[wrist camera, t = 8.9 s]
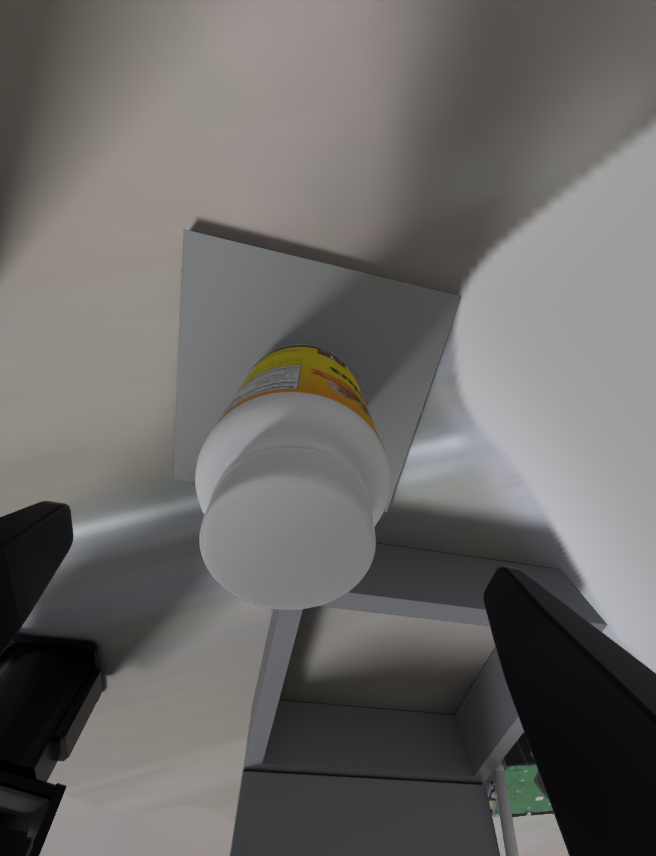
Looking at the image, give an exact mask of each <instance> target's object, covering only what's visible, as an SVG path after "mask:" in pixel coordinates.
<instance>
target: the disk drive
mask: <svg viewBox="0 0 656 856" xmlns="http://www.w3.org/2000/svg"><path fill="white" fill-rule="evenodd" d="M500 764H501V765H502V766H503V768H504V770H505V776H506V782H507V789H508V795H509V801H510V807H511V813H512V817H518V816H525V815H542V814H554V812H553V809H552V807H551V804H550V801H549V798H548V796H547V793H546V790H545V787H544V785H543V782H542V779H541V777H540V774H539V771H538V768H537V766H536V763H535V760H534V757H533V755H532V752H531V749H530V746H529V744H528V741H527V738H526V736H525V733H523V734H522V735H521V736H520V737H519V739H518V740H517V741H516V743H515V744H514V745H513V746H512V748H511V749H510V750H509V752H508V753H507V754H506V755H505V757H504V758H503V759H502V761H501V762H500ZM483 785H486V789H487V794H488V799H489V804H490V809H491V814H492V816H494V817H495V816H496V817H498V816H500V812H499V805H498V799H497V792H496V785H495V779H494V772H492V773H491V775H490V776H489V777H488V779H487V780H486V781H485V782H484V784H483Z"/></svg>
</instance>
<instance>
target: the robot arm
mask: <svg viewBox="0 0 656 856" xmlns="http://www.w3.org/2000/svg"><path fill="white" fill-rule="evenodd" d="M72 542H73V528H72V519H71V510H70V507H69V506H68V505H67V504H64V503H58V502H51V501H42V502H39V503H36V504H34V505H31V506H29V507H26V508H23V509H21V510H18V511H16V512H13V513H10V514H8V515H5V516H3V517H0V856H39V854H40V851H41V849H42V847H43V844H44V842H45V839H46V836H47V834H48V831H49V829H50V827H51V824H52V822H53V819H54V816H55V814H56V812H57V809H58V806H59V804H60V801H61V799H62V796H63V794H64V791H65V789H66V785H62V784H59V783H57V784H56V785H54V784H51V783H48V782H47V780H48V778H49V777H50V775H51V773H52V771H53V769H54V767H55V765H56V763H57V761H64V760H66V759H67V758H68V757H69V756H70V754H71V752H72V750H73V748H74V746H75V744H76V742H77V740H78V738H79V736H80V734H81V732H82V730H83V728H84V726H85V724H86V722H87V720H88V718H89V716H90V714H91V712H92V710H93V708H94V706H95V704H96V703H97V702H98V700H99V698H100V696H101V693H102V683H101V671H100V669H99V663H98V649H97V646H96V645H95V644H93V643H90V642H81V641H71V640H61V639H50V638H40V637H30V636H19V635H16V634H17V633H18V631H19V630H20V628H21V627H22V625H23V624H24V622H25V621H26V619H27V618H28V616H29V615H30V613H31V611H32V610H33V608H34V607H35V605H36V603H37V602H38V600H39V598H40V597H41V595H42V594H43V592H44V590H45V589H46V587H47V585H48V584H49V582H50V580H51V579H52V577H53V576H54V574H55V572H56V571H57V569H58V567H59V566H60V564H61V563H62V561H63V559H64V558H65V556H66V554H67V553H68V551H69V549H70V547H71V545H72ZM483 600H484V605H485V609H486V613H487V616H488V620H489V624H490V627H491V631H492V635H493V638H494V642H495V646H496V649H497V653H498V657H499V660H500V664H501V667H502V671H503V674H504V677H505V680H506V683H507V686H508V689H509V692H510V695H511V697H512V700H513V703H514V706H515V708H516V711H517V714H518V716H519V719H520V722H521V725H522V727H523V730H524V733H525V736H526V738H527V741H528V744H529V746H530V749H531V752H532V755H533V757H534V760H535V763H536V766H537V768H538V771H539V774H540V777H541V779H542V782H543V785H544V787H545V790H546V793H547V796H548V798H549V801H550V804H551V807H552V809H553V812H554V815H555V817H556V820H557V823H558V826H559V828H560V831H561V834H562V837H563V839H564V842H565V845H566V848H567V850H568V853H569V856H656V673H654V672H653V671H652V670H650V669H649V668H648V667H646V666H645V665H644V664H643V663H641V662H640V661H639V660H637V659H636V658H635V657H633V656H632V655H631V654H630V653H628V652H627V651H626V650H624V649H623V648H622V647H620V646H619V645H618V644H617V643H615V642H614V641H613V640H611V639H610V638H609V637H607V636H606V635H605V634H604V633H602V632H601V631H600V630H598V629H597V628H596V627H594V626H593V625H592V624H590V623H589V622H588V621H587V620H585V619H584V618H583V617H581V616H580V615H579V614H577V613H576V612H575V611H574V610H572V609H571V608H570V607H568V606H567V605H566V604H564V603H563V602H562V601H561V600H559V599H558V598H557V597H555V596H554V595H553V594H551V593H550V592H549V591H547V590H546V589H545V588H544V587H542V586H541V585H540V584H538V583H537V582H536V581H534V580H533V579H532V578H531V577H529V576H528V575H527V574H525V573H524V572H523V571H521V570H520V569H518V568H513V567H506V566H500V567H499V568H497V569H496V571H495V572H494V574H493V576H492V578H491V580H490V581H489V583H488V585H487V587H486V589H485V591H484V596H483Z"/></svg>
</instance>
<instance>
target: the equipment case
mask: <svg viewBox="0 0 656 856" xmlns="http://www.w3.org/2000/svg"><path fill="white" fill-rule="evenodd" d="M500 566H506V567H513V568H518V569H520V570H521V571H523V572H524V573H525V574H527V575H528V576H529V577H531V578H532V579H533V580H534V581H536V582H537V583H538V584H540V585H541V586H542V587H544V588H545V589H546V590H547V591H549V592H550V593H551V594H553V595H554V596H555V597H557V598H558V599H559V600H561V601H562V602H563V603H564V604H566V605H567V606H568V607H570V608H571V609H572V610H574V611H575V612H576V613H577V614H579V615H580V616H581V617H583V618H584V619H585V620H587V621H588V622H589V623H590V624H592V625H593V626H594V627H596V628H597V629H598V630H600V631H601V632H602V631H603V630H604V628H605V627H606V626H607V624H606V623H605V621H604V620H603V619H602V618H601V617H600V615H599V614H598V613H597V612H596V611H595V609H594V608H593V607H592V606H591V605H590V604H589V602H588V601H587V600H586V599H585V598H584V596H583V595H582V594H581V593H580V592H579V590H578V589H577V588H576V587H575V586H574V584H573V583H572V582H571V581H570V580H569V579H568V577H567V576H566V575H565V574H564V573H563V571H562V570H560V569H553V568H546V567H539V566H532V565H525V564H518V563H511V562H504V561H497V560H490V559H483V558H476V557H469V556H462V555H455V554H448V553H441V552H434V551H427V550H420V549H413V548H406V547H399V546H392V545H386V544H379V543H376V548H375V554H374V558H373V561H372V564H371V566H370V568H369V570H368V571H367V573H366V574H365V576H364V577H363V578H362V580H361V581H360V582H359V583H358V584H357V585H356V586H355V587H354V588H353V589H351V590H350V591H349V592H347V593H346V594H344V595H343V596H341V597H339V598H337V599H335V600H333V601H331V602H329V603H326V604H323V605H320V606H324V607H332V608H341V609H349V610H358V611H366V612H374V613H383V614H391V615H400V616H408V617H417V618H425V619H434V620H442V621H451V622H459V623H468V624H476V625H484V626H490V624H489V620H488V616H487V613H486V609H485V605H484V600H483V596H484V591H485V589H486V587H487V585H488V583H489V581H490V580H491V578H492V576H493V574H494V572H495V571H496V569H497V568H499V567H500ZM302 611H303V609H298V610H279V609H273V612H272V617H271V622H270V626H269V631H268V635H267V640H266V645H265V649H264V654H263V659H262V663H261V668H260V673H259V677H258V682H257V686H256V691H255V696H254V700H253V705H252V711H251V718H250V725H249V732H248V739H247V746H246V753H245V760H244V767H243V772H242V779H241V786H240V792H239V799H238V805H237V812H236V818H235V825H234V831H233V838H232V845H231V851H230V856H500V853H499V848H498V843H497V838H496V833H495V828H494V824H493V819H492V814H491V809H490V804H489V799H488V794H487V789H486V785H483V784H484V782H485V781H486V780H487V779H488V777H489V776H490V775H491V773H492V772H494V779H495V785H496V792H497V799H498V805H499V812H500V819H501V826H502V832H503V839H504V846H505V852H506V856H518V850H517V844H516V837H515V831H514V825H513V819H512V813H511V807H510V801H509V795H508V789H507V782H506V776H505V770H504V768H503V766H502V765H501V764H500V762H501V761H502V759H503V758H504V757H505V755H506V754H507V753H508V752H509V750H510V749H511V748H512V746H513V745H514V744H515V743H516V741H517V740H518V739H519V737H520V736H521V735H522V734H523V732H524V730H523V727H522V725H521V722H520V719H519V716H518V714H517V711H516V708H515V706H514V703H513V700H512V697H511V695H510V692H509V689H508V686H507V683H506V680H505V677H504V674H503V671H502V667H501V664H500V660H499V657H498V653H497V649H496V648H495V649H494V651H493V653H492V654H491V656H490V657H489V659H488V661H487V662H486V664H485V666H484V667H483V669H482V670H481V672H480V674H479V675H478V677H477V679H476V680H475V682H474V683H473V685H472V687H471V688H470V690H469V692H468V693H467V695H466V696H465V698H464V700H463V701H462V703H461V705H460V706H459V708H458V709H457V711H456V713H455V714H454V715H448V714H436V713H424V712H412V711H400V710H388V709H376V708H364V707H352V706H340V705H328V704H317V703H305V702H293V701H281V700H279V698H280V694H281V691H282V687H283V683H284V679H285V675H286V672H287V668H288V664H289V660H290V656H291V653H292V649H293V645H294V641H295V638H296V634H297V630H298V626H299V622H300V619H301V615H302Z"/></svg>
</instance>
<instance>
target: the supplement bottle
mask: <svg viewBox="0 0 656 856" xmlns="http://www.w3.org/2000/svg"><path fill="white" fill-rule="evenodd" d="M195 486H196V493H197V497H198V501H199V505H200V507H201V509H202V512H203V514H204V518H203V520H202V524H201V528H200V534H199V544H200V551H201V555H202V558H203V561H204V563H205V565H206V567H207V569H208V571H209V572H210V574H211V575H212V576H213V577H214V579H215V580H216V581H217V582H218V583H219V584H220V585H221V586H222V587H223V588H224V589H226V590H227V591H228V592H230V593H231V594H233V595H235V596H236V597H238V598H240V599H242V600H244V601H246V602H249V603H252V604H255V605H258V606H261V607H266V608H271V609H279V610H298V609H306V608H312V607H316V606H320V605H323V604H326V603H329V602H331V601H333V600H335V599H337V598H339V597H341V596H343V595H344V594H346V593H347V592H349V591H350V590H351V589H353V588H354V587H355V586H356V585H357V584H358V583H359V582H360V581H361V580H362V578H363V577H364V576H365V574H366V573H367V571H368V570H369V568H370V566H371V564H372V561H373V558H374V554H375V548H376V536H375V528H374V527H375V526H376V524H377V523H378V521H379V520H380V518H381V516H382V514H383V512H384V509H385V506H386V504H387V500H388V496H389V489H390V474H389V467H388V462H387V458H386V454H385V451H384V448H383V445H382V442H381V440H380V438H379V435H378V433H377V431H376V428H375V425H374V423H373V420H372V418H371V415H370V413H369V410H368V408H367V406H366V403H365V401H364V398H363V396H362V393H361V391H360V388H359V386H358V383H357V381H356V379H355V377H354V375H353V373H352V372H351V370H350V369H349V368H348V366H347V365H346V364H345V363H344V362H343V361H342V360H341V359H340V358H338V357H337V356H336V355H334V354H333V353H331V352H329V351H327V350H325V349H323V348H320V347H317V346H313V345H305V344H296V345H289V346H284V347H281V348H278V349H276V350H274V351H272V352H270V353H269V354H267V355H266V356H264V357H263V358H262V359H261V360H260V361H259V362H258V363H257V364H256V365H254V367H253V368H252V370H251V371H250V373H249V374H248V376H247V377H246V379H245V380H244V382H243V383H242V385H241V386H240V388H239V389H238V391H237V392H236V394H235V395H234V397H233V398H232V400H231V401H230V403H229V404H228V406H227V408H226V409H225V411H224V412H223V414H222V415H221V417H220V418H219V420H218V421H217V423H216V424H215V425H214V427H213V429H212V430H211V432H210V433H209V435H208V437H207V438H206V440H205V442H204V444H203V446H202V448H201V451H200V454H199V457H198V461H197V466H196V474H195Z"/></svg>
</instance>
